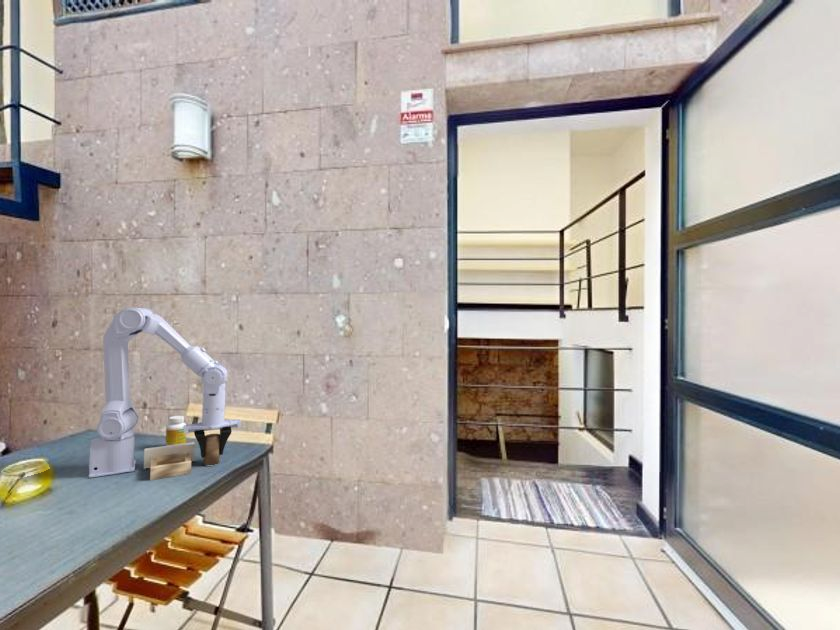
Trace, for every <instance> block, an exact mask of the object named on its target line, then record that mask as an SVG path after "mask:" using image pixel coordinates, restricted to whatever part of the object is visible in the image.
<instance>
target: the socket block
mask: <svg viewBox="0 0 840 630" xmlns="http://www.w3.org/2000/svg"><path fill="white" fill-rule="evenodd" d="M189 473H191V474H192V462H191V459H190V455H189V452H184V453H177V454H170V455H163V456H156V457H151V465H150V468H149V474H150V475H149V477H150V478H149V479H150V481H155V480H161V479H165V478H172V477H178V476H183V475H184V474H185V475H189ZM185 475H184V476H185ZM154 479H155V480H154Z"/></svg>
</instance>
